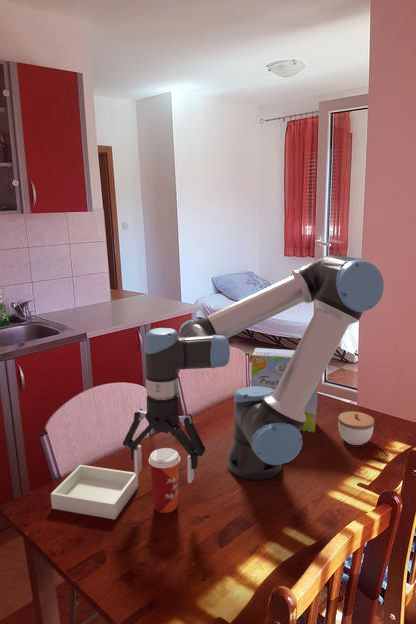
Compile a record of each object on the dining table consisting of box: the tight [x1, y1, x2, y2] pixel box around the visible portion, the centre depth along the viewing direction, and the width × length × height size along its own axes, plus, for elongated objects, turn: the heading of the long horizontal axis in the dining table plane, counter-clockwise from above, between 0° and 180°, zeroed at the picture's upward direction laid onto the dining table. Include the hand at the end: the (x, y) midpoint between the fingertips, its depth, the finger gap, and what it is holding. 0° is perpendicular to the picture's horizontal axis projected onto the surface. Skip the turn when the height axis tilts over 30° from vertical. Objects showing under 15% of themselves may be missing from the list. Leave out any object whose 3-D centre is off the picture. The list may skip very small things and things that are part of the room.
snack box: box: [250, 347, 319, 433], centre depth 159 cm, size 22×9×26 cm, turn 77°
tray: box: [50, 464, 139, 520], centre depth 122 cm, size 17×14×4 cm
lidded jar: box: [337, 411, 375, 446], centre depth 149 cm, size 11×11×9 cm
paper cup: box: [148, 447, 181, 514], centre depth 117 cm, size 8×8×14 cm
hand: (164, 475), depth 117 cm, fingers open, 13 cm apart
